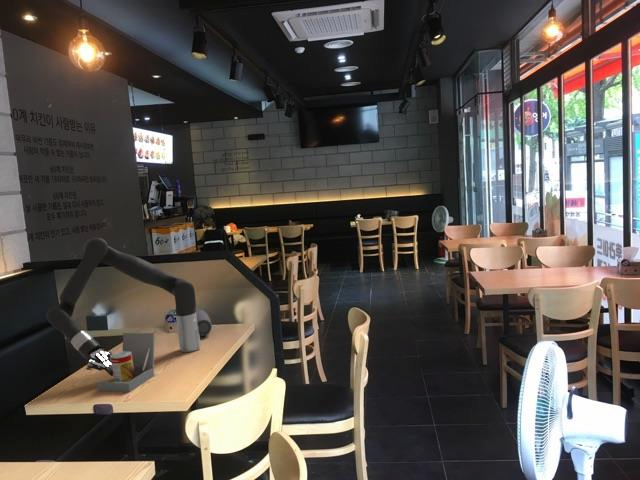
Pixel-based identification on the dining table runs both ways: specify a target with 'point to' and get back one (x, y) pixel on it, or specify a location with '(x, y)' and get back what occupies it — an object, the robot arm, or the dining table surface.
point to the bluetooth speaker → (203, 322)
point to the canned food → (122, 366)
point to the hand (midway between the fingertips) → (114, 373)
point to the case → (135, 362)
